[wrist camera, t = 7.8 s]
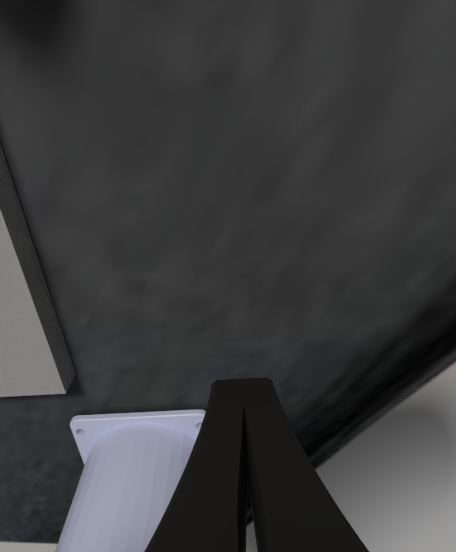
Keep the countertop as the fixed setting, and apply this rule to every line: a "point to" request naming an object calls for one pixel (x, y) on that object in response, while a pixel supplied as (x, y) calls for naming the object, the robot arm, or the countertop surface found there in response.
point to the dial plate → (26, 309)
